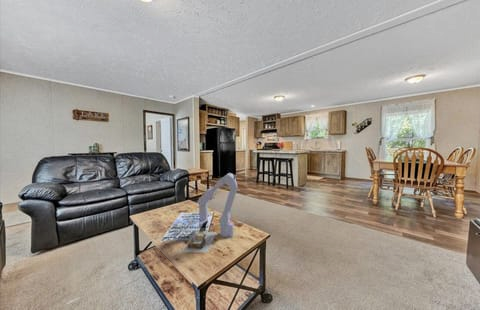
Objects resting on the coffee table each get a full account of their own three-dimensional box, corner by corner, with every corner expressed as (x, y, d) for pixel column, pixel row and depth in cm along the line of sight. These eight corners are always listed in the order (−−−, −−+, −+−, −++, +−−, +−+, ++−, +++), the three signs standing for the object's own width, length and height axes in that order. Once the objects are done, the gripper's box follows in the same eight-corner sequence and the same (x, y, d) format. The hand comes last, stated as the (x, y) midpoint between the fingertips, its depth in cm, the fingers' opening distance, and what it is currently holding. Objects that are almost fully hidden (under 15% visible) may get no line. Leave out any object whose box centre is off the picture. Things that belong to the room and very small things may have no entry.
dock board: (216, 232, 125) (216, 232, 125) (208, 253, 101) (208, 252, 101) (194, 232, 126) (194, 231, 126) (181, 252, 102) (181, 251, 102)
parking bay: (205, 242, 112) (205, 238, 112) (202, 248, 105) (202, 244, 105) (192, 241, 113) (192, 238, 112) (188, 248, 105) (188, 244, 105)
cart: (198, 235, 120) (198, 228, 120) (205, 235, 120) (205, 228, 120) (195, 240, 114) (195, 232, 114) (203, 240, 114) (203, 232, 114)
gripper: (200, 209, 131) (201, 226, 132) (194, 217, 116) (195, 236, 117) (209, 209, 130) (210, 226, 131) (204, 217, 116) (205, 236, 117)
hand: (203, 231), depth 124 cm, fingers closed
